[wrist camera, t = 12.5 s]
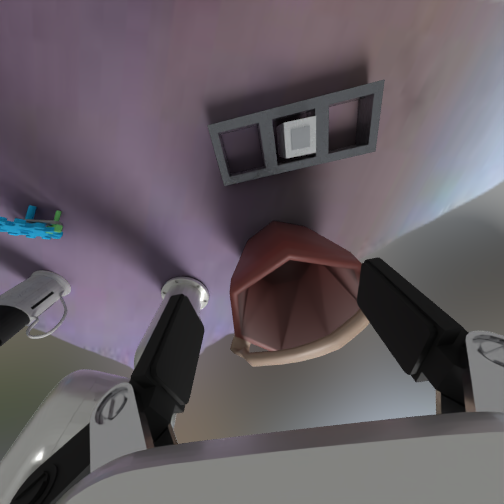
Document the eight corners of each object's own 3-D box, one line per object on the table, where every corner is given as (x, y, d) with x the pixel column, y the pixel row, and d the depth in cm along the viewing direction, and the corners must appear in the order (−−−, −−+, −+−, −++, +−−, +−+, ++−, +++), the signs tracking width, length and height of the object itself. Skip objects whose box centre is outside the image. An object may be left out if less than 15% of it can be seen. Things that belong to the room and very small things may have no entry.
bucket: (242, 293, 50) (240, 402, 29) (214, 222, 39) (178, 314, 18) (330, 274, 48) (399, 378, 27) (327, 192, 37) (441, 258, 15)
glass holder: (27, 266, 44) (-65, 317, 31) (92, 280, 46) (33, 332, 34) (35, 292, 48) (-42, 346, 35) (94, 303, 51) (43, 357, 38)
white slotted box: (303, 151, 33) (316, 152, 27) (278, 156, 33) (286, 158, 27) (302, 121, 31) (316, 115, 24) (276, 127, 31) (283, 122, 25)
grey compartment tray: (367, 87, 29) (384, 79, 25) (361, 150, 33) (375, 151, 30) (211, 127, 31) (207, 125, 27) (226, 182, 35) (224, 186, 32)
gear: (19, 241, 38) (-45, 222, 29) (26, 215, 40) (-32, 190, 30) (79, 242, 41) (39, 226, 31) (84, 218, 42) (47, 195, 33)
